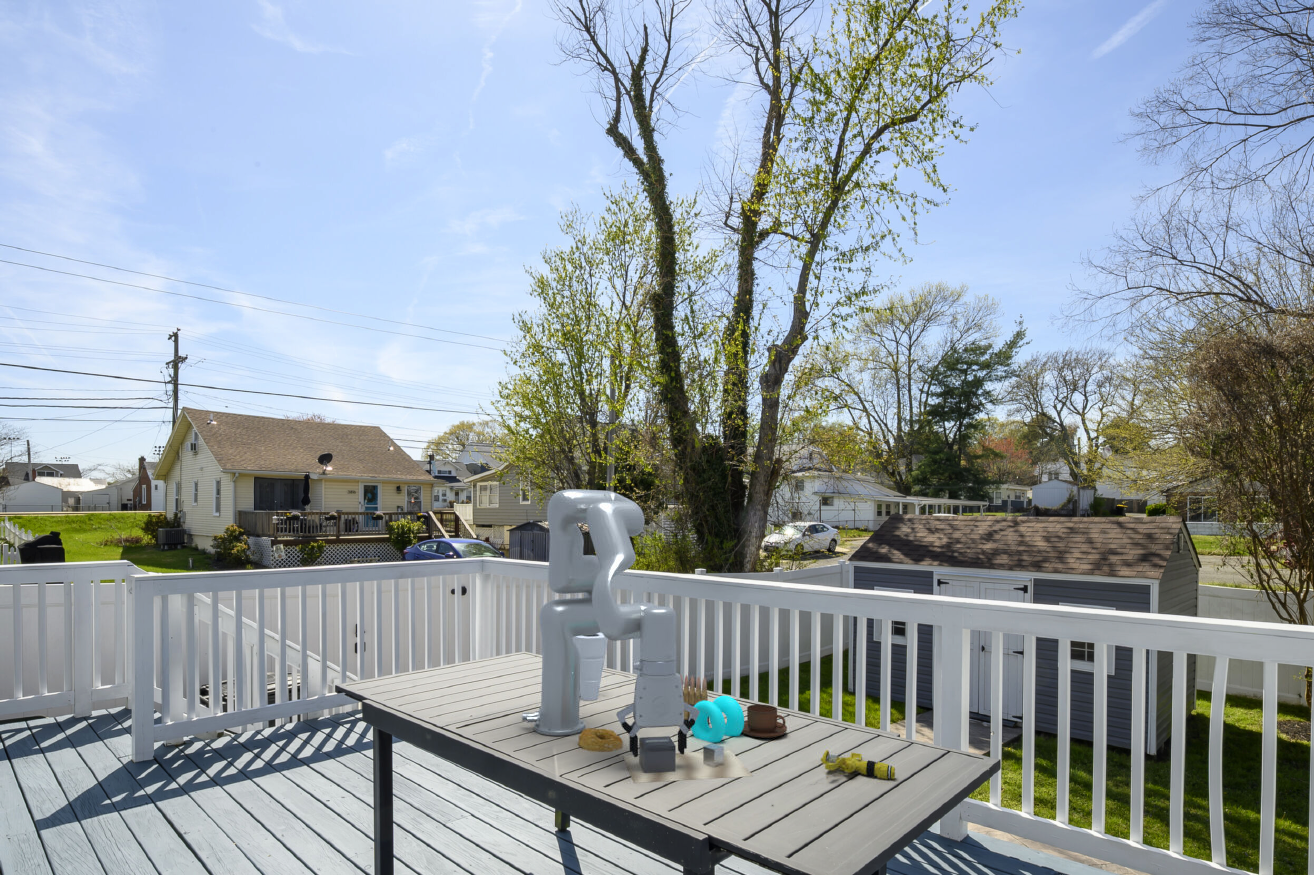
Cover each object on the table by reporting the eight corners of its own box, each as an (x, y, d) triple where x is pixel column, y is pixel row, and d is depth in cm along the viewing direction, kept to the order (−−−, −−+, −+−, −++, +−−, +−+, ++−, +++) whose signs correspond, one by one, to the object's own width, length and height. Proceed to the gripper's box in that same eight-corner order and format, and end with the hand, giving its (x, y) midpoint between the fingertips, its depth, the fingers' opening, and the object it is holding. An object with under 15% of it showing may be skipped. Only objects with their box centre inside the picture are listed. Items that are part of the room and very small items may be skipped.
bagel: (594, 763, 152) (595, 740, 153) (569, 749, 161) (569, 728, 162) (633, 754, 158) (633, 732, 159) (606, 742, 167) (606, 721, 167)
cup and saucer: (789, 729, 178) (788, 704, 179) (784, 743, 167) (784, 716, 168) (741, 725, 182) (741, 700, 182) (734, 739, 170) (733, 712, 171)
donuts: (687, 741, 167) (687, 698, 168) (714, 733, 174) (714, 691, 175) (719, 751, 160) (719, 706, 161) (747, 742, 167) (746, 698, 168)
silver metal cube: (714, 767, 146) (714, 749, 146) (703, 763, 148) (703, 746, 148) (723, 763, 148) (723, 746, 148) (712, 760, 150) (712, 743, 150)
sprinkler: (889, 769, 138) (812, 755, 144) (888, 791, 137) (811, 776, 143) (901, 754, 154) (832, 742, 161) (901, 774, 153) (831, 761, 160)
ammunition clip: (709, 725, 180) (709, 677, 182) (706, 727, 179) (706, 678, 180) (672, 719, 186) (673, 672, 187) (669, 721, 184) (669, 673, 186)
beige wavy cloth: (633, 790, 136) (633, 782, 137) (622, 763, 152) (622, 755, 152) (753, 783, 141) (753, 775, 141) (730, 757, 156) (730, 750, 157)
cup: (566, 696, 209) (567, 633, 211) (600, 692, 213) (601, 631, 216) (577, 704, 199) (579, 639, 201) (613, 701, 204) (614, 636, 206)
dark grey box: (644, 773, 142) (644, 746, 142) (639, 762, 148) (639, 736, 149) (675, 771, 143) (675, 744, 144) (669, 760, 149) (669, 735, 150)
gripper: (619, 672, 143) (618, 762, 140) (703, 669, 146) (703, 757, 143) (614, 665, 150) (614, 750, 148) (694, 663, 153) (694, 746, 151)
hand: (658, 753), depth 146 cm, fingers open, 9 cm apart
